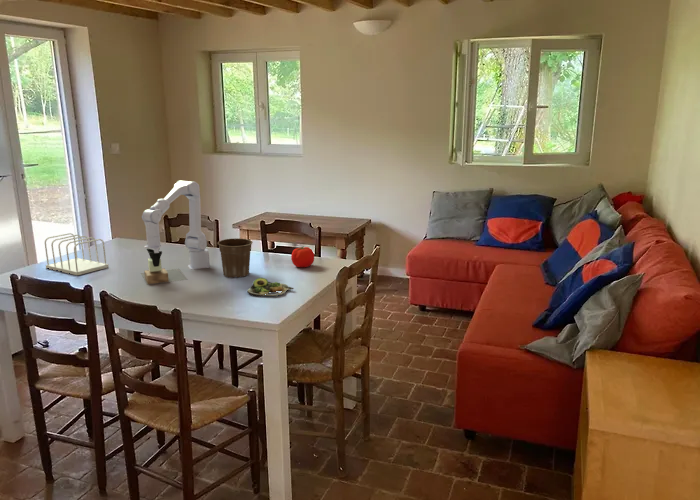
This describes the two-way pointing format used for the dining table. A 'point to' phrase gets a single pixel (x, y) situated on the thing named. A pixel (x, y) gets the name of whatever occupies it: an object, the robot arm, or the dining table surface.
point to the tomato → (302, 257)
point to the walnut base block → (156, 276)
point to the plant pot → (235, 257)
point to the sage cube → (151, 266)
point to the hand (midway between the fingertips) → (155, 264)
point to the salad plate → (267, 288)
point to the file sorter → (77, 264)
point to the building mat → (171, 275)
